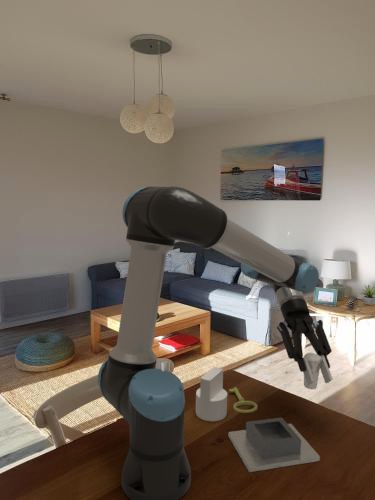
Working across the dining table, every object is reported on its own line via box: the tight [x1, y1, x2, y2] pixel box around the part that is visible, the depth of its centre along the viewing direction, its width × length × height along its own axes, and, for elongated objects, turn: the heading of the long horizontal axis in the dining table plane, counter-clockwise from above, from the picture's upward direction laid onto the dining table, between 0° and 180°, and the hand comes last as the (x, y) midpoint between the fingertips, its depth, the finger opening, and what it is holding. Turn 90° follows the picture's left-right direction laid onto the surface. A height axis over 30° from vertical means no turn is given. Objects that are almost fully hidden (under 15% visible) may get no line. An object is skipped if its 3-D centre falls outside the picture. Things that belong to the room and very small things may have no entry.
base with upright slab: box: [195, 366, 228, 422], centre depth 115 cm, size 9×9×12 cm
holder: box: [228, 417, 321, 473], centre depth 99 cm, size 18×14×5 cm
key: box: [228, 386, 258, 414], centre depth 121 cm, size 7×12×2 cm, turn 30°
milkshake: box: [303, 352, 324, 390], centre depth 106 cm, size 4×5×10 cm
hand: (320, 382), depth 103 cm, fingers closed on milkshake, 4 cm apart
